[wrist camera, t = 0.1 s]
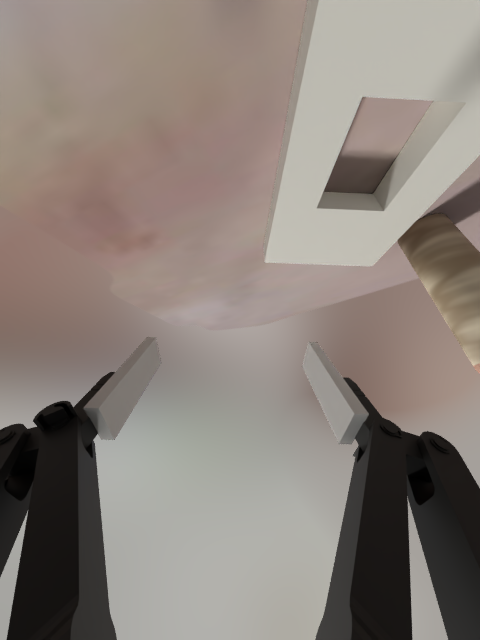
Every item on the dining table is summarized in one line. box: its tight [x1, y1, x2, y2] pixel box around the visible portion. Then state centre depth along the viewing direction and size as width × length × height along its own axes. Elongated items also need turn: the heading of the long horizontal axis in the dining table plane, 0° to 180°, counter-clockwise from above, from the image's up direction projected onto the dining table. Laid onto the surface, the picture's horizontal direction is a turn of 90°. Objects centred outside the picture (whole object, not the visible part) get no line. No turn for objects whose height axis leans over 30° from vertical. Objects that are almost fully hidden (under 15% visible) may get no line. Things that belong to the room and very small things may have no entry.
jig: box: [263, 0, 480, 266], centre depth 14 cm, size 20×14×3 cm
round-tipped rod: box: [398, 214, 480, 373], centre depth 17 cm, size 4×4×18 cm
